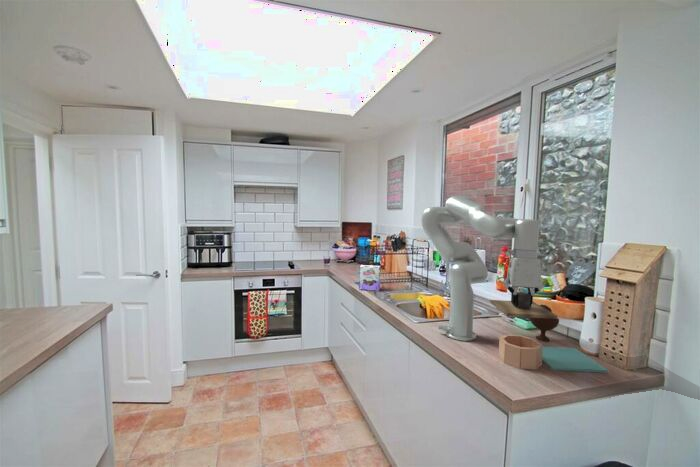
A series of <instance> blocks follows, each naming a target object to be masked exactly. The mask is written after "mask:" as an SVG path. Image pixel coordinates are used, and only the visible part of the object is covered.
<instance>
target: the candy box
mask: <svg viewBox="0 0 700 467" xmlns="http://www.w3.org/2000/svg"><path fill="white" fill-rule="evenodd" d="M358 277H359V278H358V280H359V282H358V290H359V291H370V290H375V291H374V292H380V289H381V287H380V286H381V265H369V264H368V265H367V264H366V265H365V264H360V266H359V276H358ZM361 289H362V290H361Z"/></svg>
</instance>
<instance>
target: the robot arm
mask: <svg viewBox="0 0 700 467" xmlns="http://www.w3.org/2000/svg"><path fill="white" fill-rule="evenodd" d="M444 205H445V206H431V207H428V208H426V209H425V210H423V213H422V215H421V225H422V226H421V227H422V228H423V231H424V233H425V234H426V235H427V237H428V238H429V239H430V241H431V242H432V244H433V246H434V247H435V249H436V251H437V253H438V254H439V256H440V257H441V259H442V261H443V262H444V263H446V264H450V265H451V264H453V265H451V266H450V268H449V270H448V278H449V287H450V294H449V295H450V297H449V320H448V321H449V322H447V323H445V324H438V325H437V330H442V332H444V334H445V336H447V337H448V338H450V339H453V340H456V341H461V342H462V341H463V342H464V341H465V342H468V341H469V342H470V341H474V340H476V339H477V334H476V332H474V331H473V328H474V326H473V325H474V307H475V304H474V302H475V293H474V289H473V288H472V285H474V284H480V283H483V282H485V281H486V280H487V279H488V275H489V274H488V273H489V272H488V268H487V266H486V263H485V262H484V261H483V260H482V258H481V257H480V255H479V253H478V252H477V251H476V250H475V248H474V247H473V246H472V245H471V244H470V243H468V242H465V241H455V240H454V239H453V237H452V235H451V234H450V233H449V231H448V230H447V229H446V228H444V227H443V226H451V225H455V224H457V223H460V222H462V221H464V222H466V223H469V224H470V225H471V227H472V228H473V229H474V230H475V231H476V232H478V233H481V234H483V235H485V236H487V237H489V238H491V239H513V248H512V250H509V252H508V253H509V255H511V257H510V260H509V263H508V268H507V272H506V273H507V274H506V275H507V276H506V278H505V279H504V280H503V282H502V283H501V284H502V285H501V286H503V287H505V288H506V289H507V290H508V291H509V292H510V294H511V296H510V298H511V299H510V301H511V303H512V304H513V305H514V306H517V305H518V295H517V292H519V291H518V290H519V288H526V289H527V293H528V294H530V295H531V300H530V307H531V304H532V303H533V302H534V296H536V294H537V293H538V292H539V291H540V290H542V289H544V288H545V285H544V284H543V282H542V266H541V265H542V264H541V260H540V259H539V258H538V249H539V237H540V222H539V221H538V220H537V219H527V218H526V219H525V218H524V219H523V218H522V219H520V218H519V219H518V218H515V217H495V216H493V215H491V214H488V213H487V212H486V209H485V207H484V206H483V205H482V204H480V203H478V202H477V200H476V199H475V198H473V197H471V196H466V195H452V196H450V197H449V198H448V199H447V200H446V201H445V204H444Z"/></svg>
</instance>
